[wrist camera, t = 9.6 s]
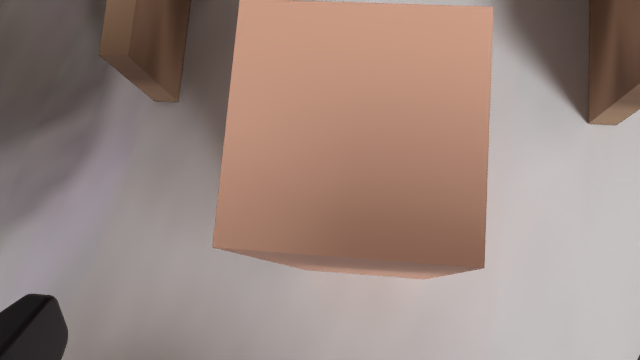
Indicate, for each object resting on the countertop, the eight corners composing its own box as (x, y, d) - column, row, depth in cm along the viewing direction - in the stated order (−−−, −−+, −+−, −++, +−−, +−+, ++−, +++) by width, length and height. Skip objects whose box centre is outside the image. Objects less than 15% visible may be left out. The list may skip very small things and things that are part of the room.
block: (425, 279, 23) (484, 268, 10) (304, 269, 23) (212, 247, 10) (431, 160, 23) (493, 6, 11) (314, 153, 24) (240, -1, 11)
